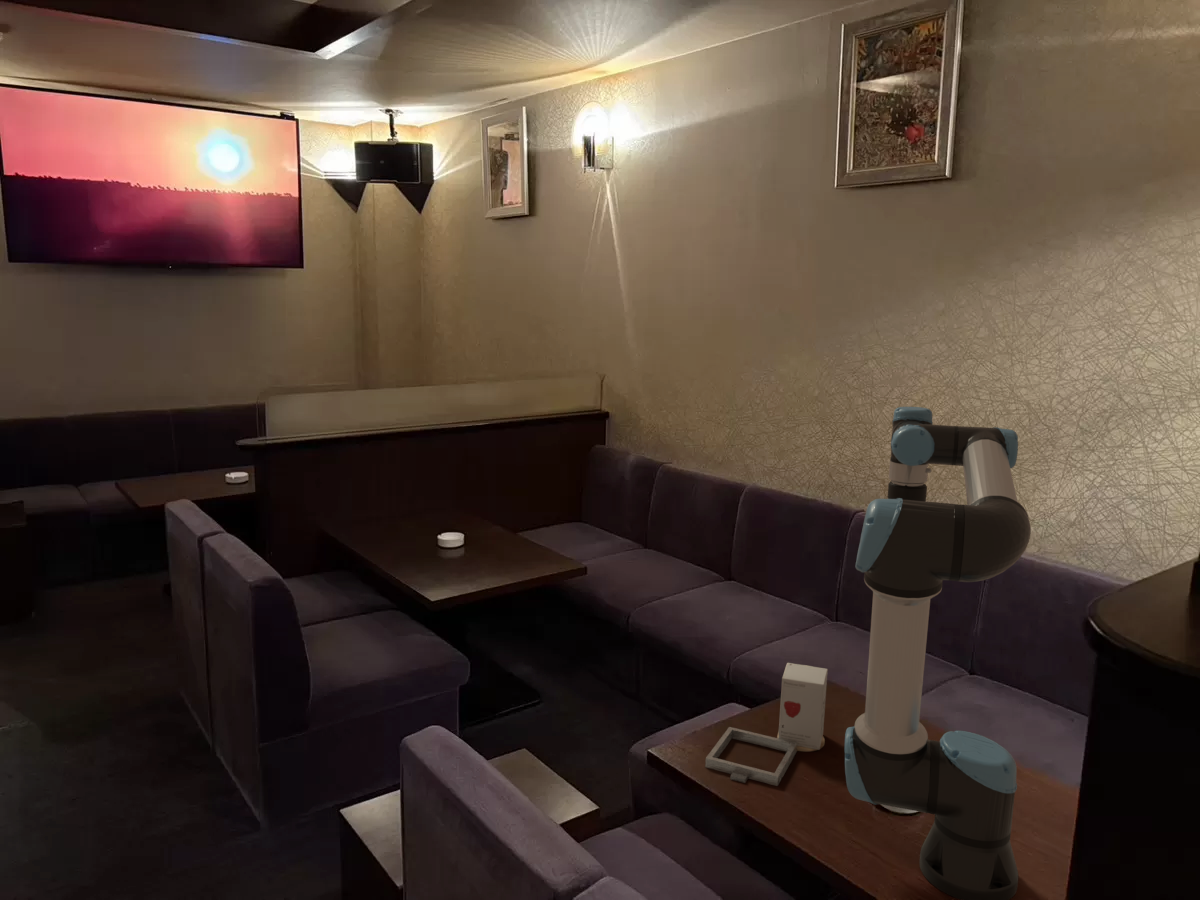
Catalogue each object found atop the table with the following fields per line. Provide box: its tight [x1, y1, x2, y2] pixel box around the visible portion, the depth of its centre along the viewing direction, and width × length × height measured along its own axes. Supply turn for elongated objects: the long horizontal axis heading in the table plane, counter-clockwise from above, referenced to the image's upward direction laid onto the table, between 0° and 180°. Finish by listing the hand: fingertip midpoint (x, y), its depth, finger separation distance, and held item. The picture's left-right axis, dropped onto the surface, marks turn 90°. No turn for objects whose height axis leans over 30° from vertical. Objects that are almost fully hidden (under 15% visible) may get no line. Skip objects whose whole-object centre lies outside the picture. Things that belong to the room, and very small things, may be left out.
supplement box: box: [777, 662, 829, 751], centre depth 189 cm, size 9×9×15 cm
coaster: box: [776, 731, 826, 753], centre depth 190 cm, size 10×10×1 cm
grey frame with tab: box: [704, 726, 798, 787], centre depth 182 cm, size 19×15×2 cm
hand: (900, 581), depth 183 cm, fingers open, 13 cm apart
